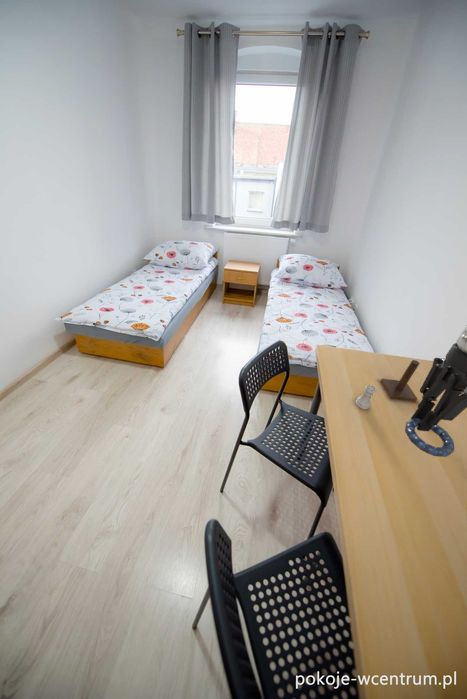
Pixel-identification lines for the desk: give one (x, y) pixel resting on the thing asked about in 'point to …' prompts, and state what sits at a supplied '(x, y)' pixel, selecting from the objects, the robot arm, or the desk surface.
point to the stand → (401, 385)
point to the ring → (435, 451)
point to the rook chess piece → (365, 397)
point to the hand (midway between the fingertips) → (419, 424)
